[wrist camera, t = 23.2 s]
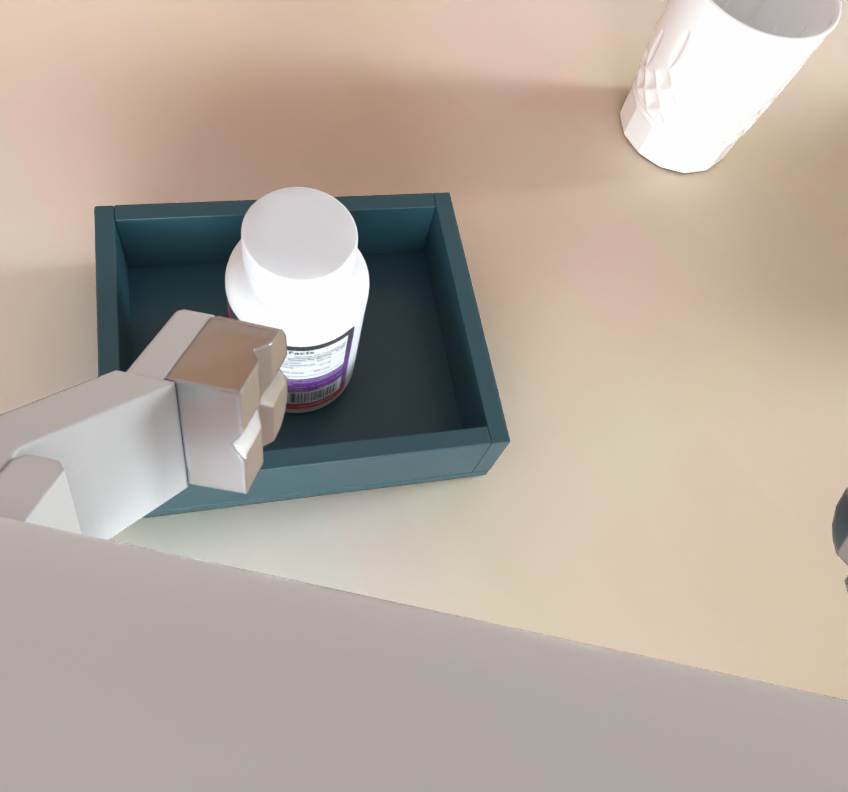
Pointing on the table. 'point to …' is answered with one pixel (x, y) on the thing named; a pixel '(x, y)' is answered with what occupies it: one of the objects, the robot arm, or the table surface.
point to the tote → (376, 358)
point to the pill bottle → (302, 288)
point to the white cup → (717, 74)
